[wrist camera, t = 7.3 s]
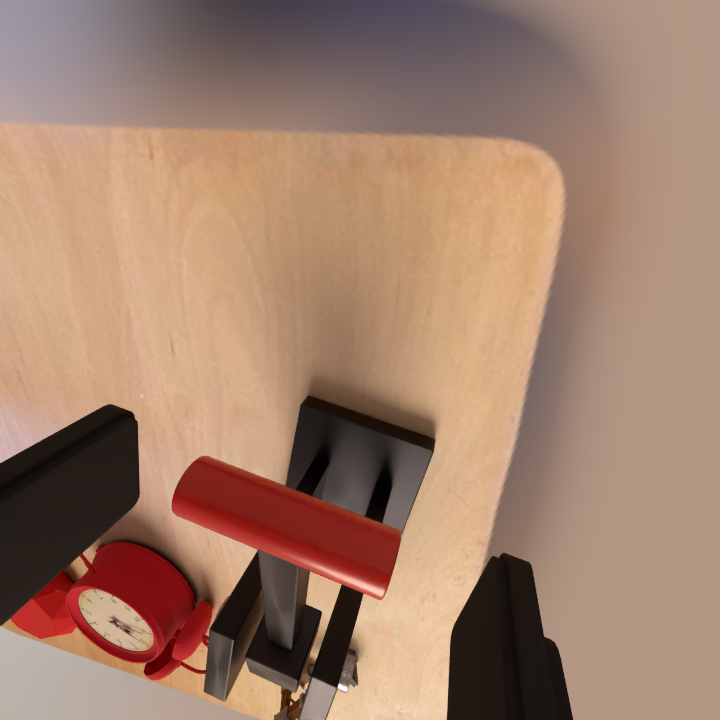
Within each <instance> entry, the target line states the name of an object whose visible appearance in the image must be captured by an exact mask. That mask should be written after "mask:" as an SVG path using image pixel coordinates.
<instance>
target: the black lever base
mask: <svg viewBox="0 0 720 720" xmlns="http://www.w3.org/2000/svg"><path fill="white" fill-rule="evenodd" d="M434 447H435V439H433V438H430V437H427V436H425V435H422V434H419V433H416V432H413V431H410V430H407V429H404V428H401V427H398V426H396V425H393V424H390V423H387V422H384V421H381V420H378V419H375V418H372V417H369V416H366V415H364V414H361V413H358V412H355V411H352V410H349V409H346V408H343V407H340V406H337V405H335V404H332V403H329V402H326V401H323V400H320V399H317V398H314V397H311V396H308V397H307V398H306V399H305V400H304V401H303V403H302V404H301V406H300V412H299V417H298V422H297V428H296V433H295V438H294V444H293V449H292V454H291V460H290V465H289V470H288V476H287V481H286V486H287V487H289V488H292V489H295V490H297V491H300V492H302V493H305V494H308V495H310V496H313V497H315V498H318V499H321V500H323V501H326V502H328V503H331V504H334V505H336V506H339V507H341V508H344V509H347V510H349V511H352V512H354V513H357V514H360V515H362V516H365V517H367V518H370V519H373V520H375V521H378V522H380V523H383V524H386V525H388V526H391V527H393V528H396V529H399V530H400V531H401V535H402V533H403V530H404V528H405V525H406V522H407V520H408V517H409V515H410V512H411V509H412V507H413V504H414V502H415V499H416V496H417V494H418V491H419V489H420V486H421V483H422V481H423V478H424V476H425V473H426V470H427V468H428V465H429V463H430V460H431V458H432V455H433V452H434ZM363 594H364V593H361V592H359V591H357V590H354V589H352V588H349V587H347V586H345V585H341V588H340V591H339V594H338V597H337V600H336V603H335V606H334V609H333V612H332V615H331V618H330V621H329V624H328V627H327V630H326V633H325V636H324V639H323V642H322V645H321V648H320V651H319V654H318V657H317V660H316V663H315V666H314V669H313V672H312V675H311V678H310V681H309V684H308V688H307V691H306V694H305V697H304V700H303V704H302V707H301V710H300V713H299V717H298V720H326V718H327V715H328V713H329V710H330V707H331V705H332V702H333V699H334V697H335V694H336V691H337V689H338V690H340V691H342V692H345V693H346V692H347V691H348V688H349V685H350V682H351V679H352V675H353V672H354V668H355V664H356V660H357V655H358V652H357V651H356V650H354V649H351V648H349V645H350V642H351V638H352V634H353V631H354V627H355V623H356V620H357V616H358V612H359V608H360V605H361V601H362V597H363ZM263 615H264V604H263V594H262V585H261V575H260V565H259V555H258V551H257V553H256V554H255V556H254V557H253V559H252V561H251V562H250V564H249V566H248V567H247V569H246V571H245V572H244V574H243V575H242V577H241V579H240V580H239V582H238V584H237V585H236V587H235V588H234V590H233V592H232V593H231V595H230V596H228V597H227V598H226V600H225V601H224V602H223V604H222V606H221V607H220V609H219V611H218V613H217V615H216V618H215V620H214V623H213V624H212V626H211V628H210V633H209V643H208V653H207V664H206V674H205V684H204V692H205V693H207V694H209V695H212V696H214V697H216V698H218V699H220V700H222V701H224V702H225V701H226V699H227V697H228V695H229V693H230V691H231V689H232V687H233V685H234V683H235V681H236V679H237V677H238V675H239V673H240V670H241V668H242V666H243V664H244V662H245V660H246V658H245V655H246V653H247V650H248V648H249V646H250V644H251V642H252V639H253V637H254V635H255V633H256V630H257V628H258V626H259V624H260V622H261V619H262V617H263Z"/></svg>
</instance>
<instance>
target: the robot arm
mask: <svg viewBox="0 0 720 720" xmlns="http://www.w3.org/2000/svg"><path fill="white" fill-rule="evenodd" d="M139 495H140V488H139V452H138V423H137V421H136V420H135V417H134V414H133V413H132V412H131V411H128V410H125V409H123V408H120V407H118V406H115V405H112V404H109V405H106V406H103V407H101V408H100V409H98V410H96V411H94V412H92V413H91V414H89V415H87V416H85V417H83V418H82V419H80V420H78V421H76V422H74V423H72V424H71V425H69V426H67V427H65V428H63V429H62V430H60V431H58V432H56V433H54V434H53V435H51V436H49V437H47V438H45V439H43V440H42V441H40V442H38V443H36V444H34V445H33V446H31V447H29V448H27V449H25V450H24V451H22V452H20V453H18V454H16V455H14V456H13V457H11V458H9V459H7V460H5V461H4V462H2V463H0V626H1V625H3V624H4V623H5V622H6V621H7V620H9V619H10V618H11V617H12V616H13V615H14V614H15V613H16V612H17V611H19V610H20V609H21V608H22V607H23V606H24V605H25V604H26V603H27V602H29V601H30V600H31V599H32V598H33V597H34V596H35V595H36V594H37V593H39V592H40V591H41V590H42V589H43V588H44V587H45V586H46V585H47V584H49V583H50V582H51V581H52V580H53V579H54V578H55V577H56V576H57V575H59V574H60V573H61V572H62V571H63V570H64V569H65V568H66V567H67V566H69V565H70V564H71V563H72V562H73V561H74V560H75V559H76V558H77V557H79V556H80V555H81V554H82V553H83V552H84V551H85V550H86V549H87V548H88V547H90V546H91V545H92V544H93V543H94V542H95V541H96V540H97V539H98V538H100V537H101V536H102V535H103V534H104V533H105V532H106V531H107V530H108V529H110V528H111V527H112V526H113V525H114V524H115V523H116V522H117V521H118V520H120V519H121V518H122V517H123V516H124V515H125V514H126V513H127V512H128V511H130V510H131V509H132V508H133V507H134V505H135V504H136V503H137V501H138V498H139ZM447 720H573V717H572V712H571V707H570V702H569V697H568V692H567V687H566V682H565V677H564V672H563V668H562V662H561V657H560V654H559V650H558V648H557V646H556V644H555V643H554V642H553V641H552V640H550V639H548V638H546V637H544V634H543V628H542V623H541V616H540V610H539V605H538V599H537V593H536V588H535V582H534V576H533V570H532V566H531V564H530V563H529V562H527V561H524V560H522V559H519V558H516V557H514V556H511V555H509V554H506V553H503V554H501V555H500V557H499V558H497V557H495V556H492V557H491V558H490V560H489V562H488V564H487V566H486V567H485V569H484V571H483V573H482V575H481V577H480V578H479V580H478V582H477V584H476V586H475V588H474V589H473V591H472V593H471V595H470V597H469V599H468V600H467V602H466V604H465V606H464V608H463V610H462V611H461V613H460V615H459V617H458V619H457V621H456V622H455V624H454V627H453V630H452V634H451V642H450V663H449V687H448V710H447Z"/></svg>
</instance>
